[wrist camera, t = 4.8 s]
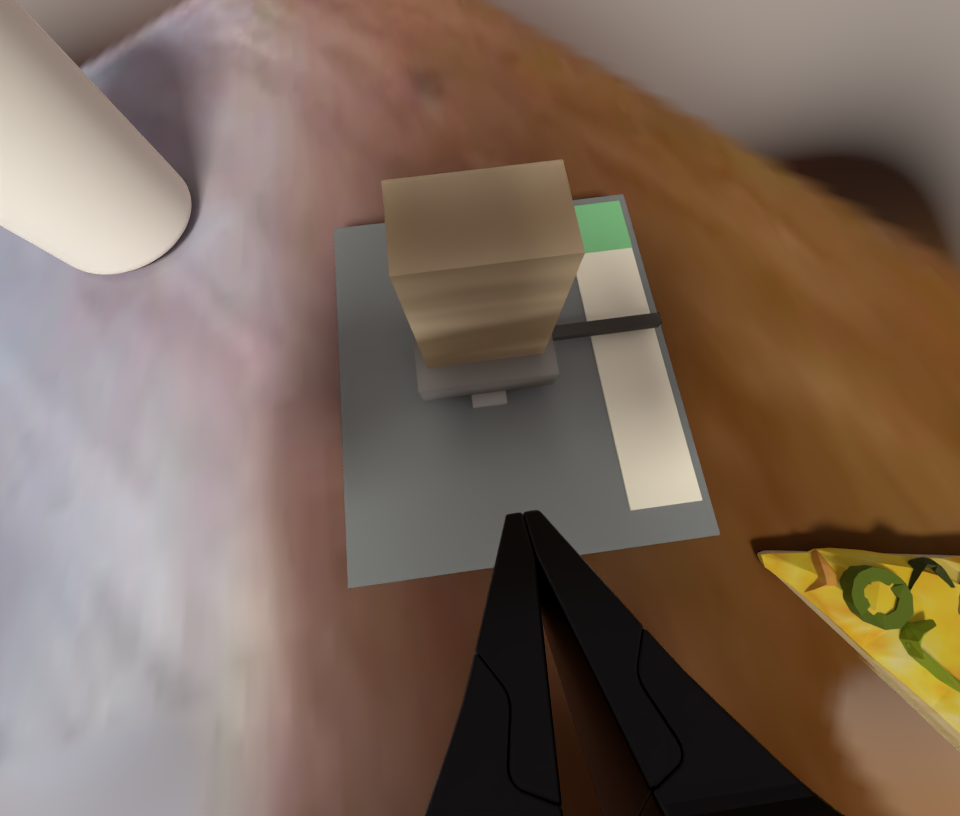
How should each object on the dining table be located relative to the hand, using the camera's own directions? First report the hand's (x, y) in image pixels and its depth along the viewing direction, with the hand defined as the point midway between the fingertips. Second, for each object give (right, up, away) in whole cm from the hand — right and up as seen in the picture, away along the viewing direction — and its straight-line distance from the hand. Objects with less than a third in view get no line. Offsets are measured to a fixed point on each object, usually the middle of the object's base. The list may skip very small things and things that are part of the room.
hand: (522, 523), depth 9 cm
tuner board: (0, +4, +10) cm, 11 cm away
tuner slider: (+2, +6, +8) cm, 11 cm away
